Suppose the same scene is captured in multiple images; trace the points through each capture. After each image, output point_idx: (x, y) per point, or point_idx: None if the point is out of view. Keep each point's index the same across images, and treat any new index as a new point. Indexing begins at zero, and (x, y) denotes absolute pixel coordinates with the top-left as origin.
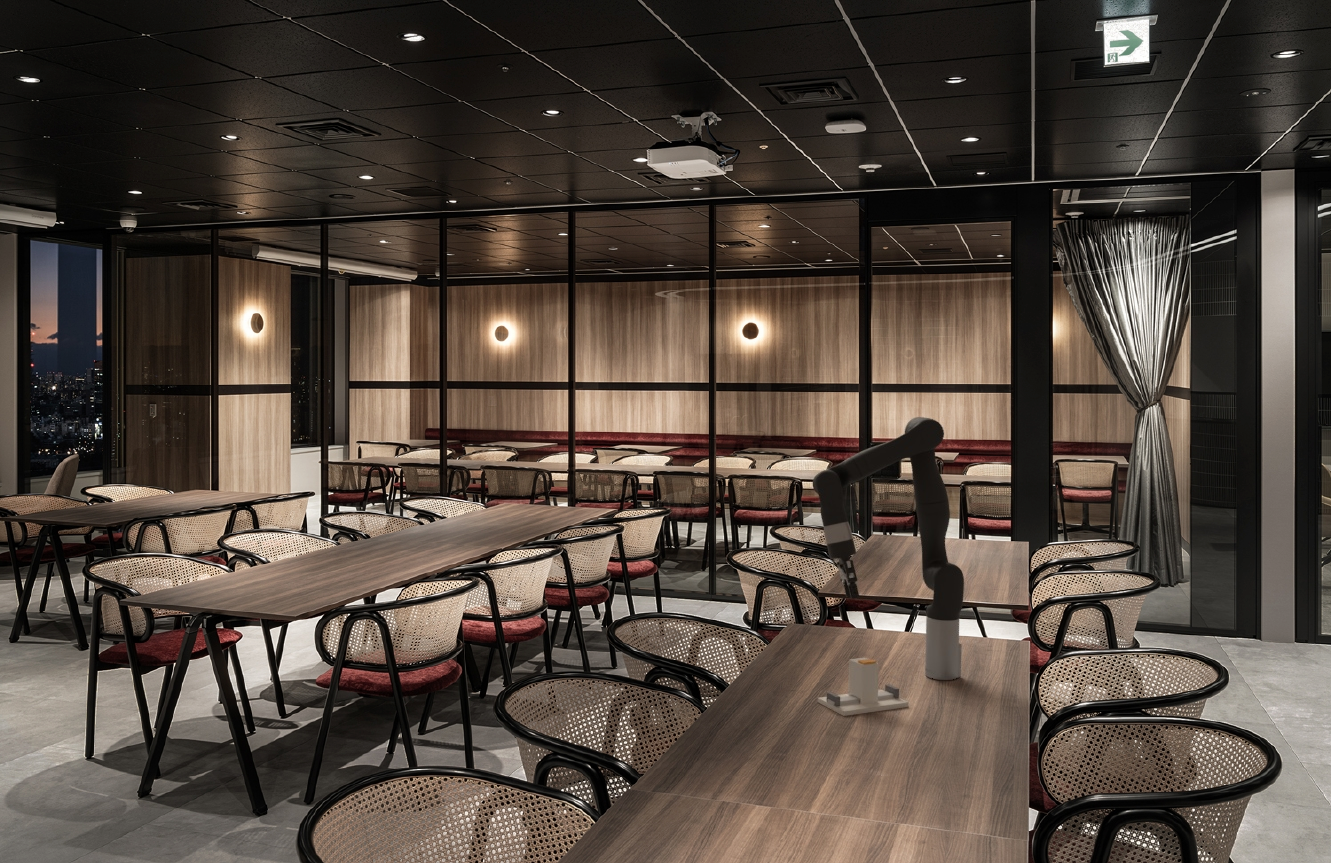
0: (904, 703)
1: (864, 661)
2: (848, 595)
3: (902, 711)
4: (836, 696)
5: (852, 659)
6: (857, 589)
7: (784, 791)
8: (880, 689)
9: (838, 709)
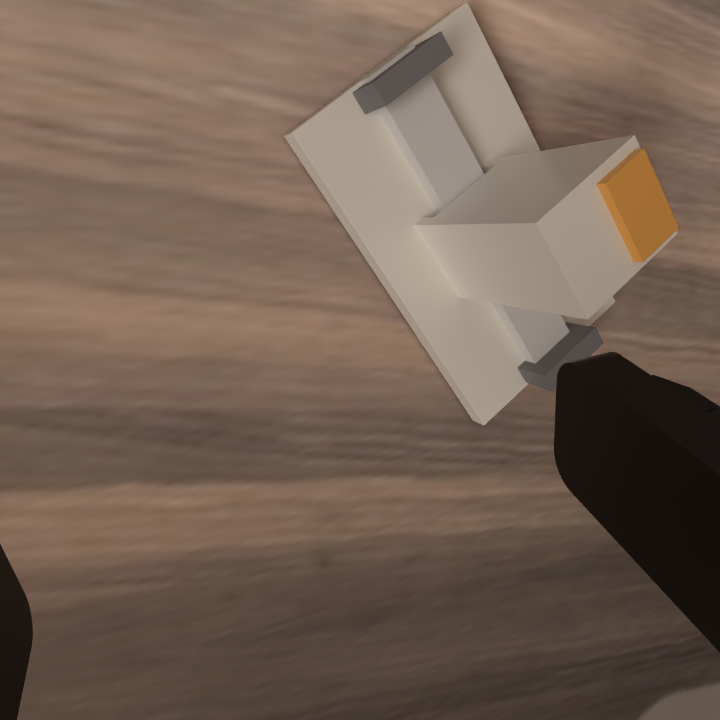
0: (475, 26)
1: (656, 223)
2: (15, 617)
3: (507, 49)
4: (595, 343)
5: (586, 299)
6: (702, 416)
7: None
8: (292, 135)
9: (586, 324)
